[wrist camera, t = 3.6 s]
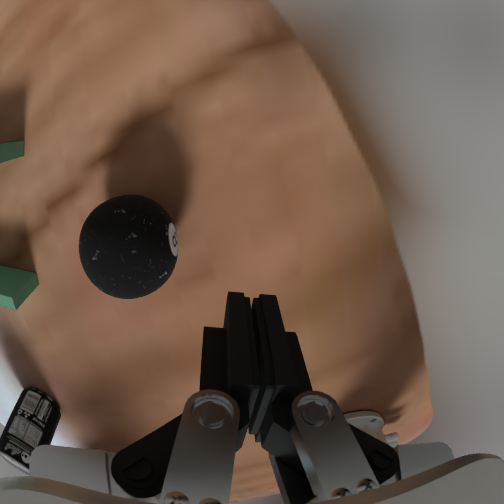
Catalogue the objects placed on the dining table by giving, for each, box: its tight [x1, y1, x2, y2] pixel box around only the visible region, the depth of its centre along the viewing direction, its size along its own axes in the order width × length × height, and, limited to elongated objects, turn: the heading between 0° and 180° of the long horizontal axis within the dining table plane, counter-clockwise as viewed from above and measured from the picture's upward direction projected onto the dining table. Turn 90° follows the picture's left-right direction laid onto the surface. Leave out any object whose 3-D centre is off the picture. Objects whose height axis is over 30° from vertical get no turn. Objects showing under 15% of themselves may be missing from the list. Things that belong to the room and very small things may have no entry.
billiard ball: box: [79, 195, 178, 299], centre depth 16 cm, size 6×6×6 cm
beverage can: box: [0, 388, 61, 475], centre depth 22 cm, size 7×7×12 cm
